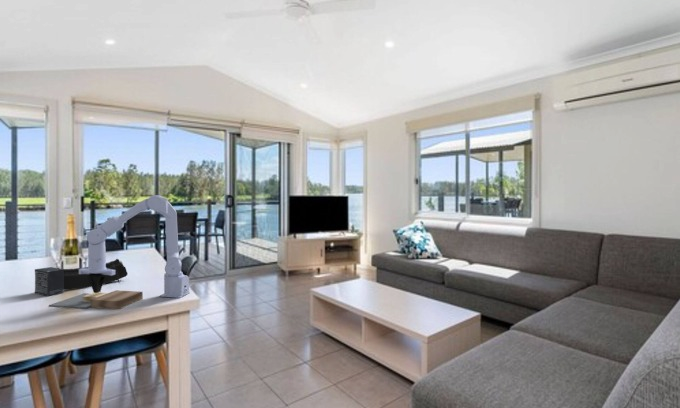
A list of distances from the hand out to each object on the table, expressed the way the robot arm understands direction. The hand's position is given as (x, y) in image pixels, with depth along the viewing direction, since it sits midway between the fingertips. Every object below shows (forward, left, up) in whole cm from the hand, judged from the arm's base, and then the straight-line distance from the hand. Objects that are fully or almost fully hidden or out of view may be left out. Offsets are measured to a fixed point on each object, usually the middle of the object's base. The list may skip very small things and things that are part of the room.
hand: (97, 292), depth 139 cm
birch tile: (+1, -1, -3) cm, 4 cm away
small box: (+29, -7, -4) cm, 30 cm away
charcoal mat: (+5, 0, -4) cm, 7 cm away
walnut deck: (-9, 0, -4) cm, 10 cm away
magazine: (+21, -20, -4) cm, 30 cm away
